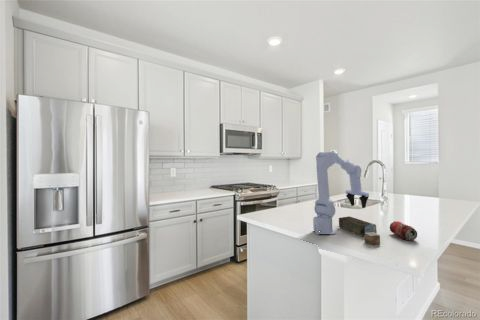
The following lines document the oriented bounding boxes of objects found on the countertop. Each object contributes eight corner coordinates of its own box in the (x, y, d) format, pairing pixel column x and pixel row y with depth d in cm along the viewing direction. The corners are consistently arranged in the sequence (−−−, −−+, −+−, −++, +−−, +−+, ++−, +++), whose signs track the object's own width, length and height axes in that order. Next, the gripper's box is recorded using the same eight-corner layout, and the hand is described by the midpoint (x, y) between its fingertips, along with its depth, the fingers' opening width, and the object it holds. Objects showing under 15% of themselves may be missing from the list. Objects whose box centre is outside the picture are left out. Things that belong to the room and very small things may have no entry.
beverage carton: (365, 238, 117) (364, 225, 117) (338, 228, 135) (337, 216, 135) (377, 236, 119) (376, 223, 119) (349, 226, 137) (348, 215, 138)
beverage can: (404, 242, 110) (404, 227, 110) (389, 234, 122) (389, 221, 122) (420, 241, 109) (420, 227, 109) (403, 233, 121) (403, 221, 121)
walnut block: (370, 245, 106) (370, 235, 106) (364, 242, 111) (364, 232, 111) (380, 245, 107) (379, 235, 107) (373, 241, 111) (373, 232, 111)
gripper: (371, 184, 137) (373, 206, 138) (349, 182, 150) (352, 203, 151) (363, 187, 134) (365, 210, 135) (342, 184, 147) (344, 205, 148)
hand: (358, 206), depth 143 cm, fingers open, 7 cm apart
